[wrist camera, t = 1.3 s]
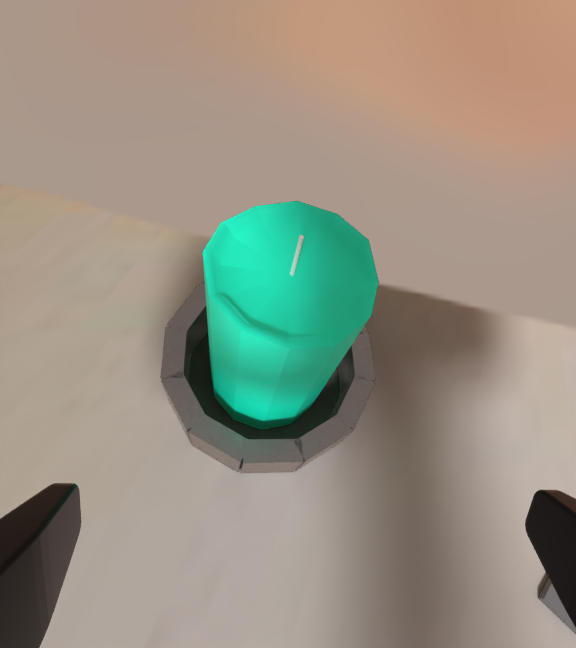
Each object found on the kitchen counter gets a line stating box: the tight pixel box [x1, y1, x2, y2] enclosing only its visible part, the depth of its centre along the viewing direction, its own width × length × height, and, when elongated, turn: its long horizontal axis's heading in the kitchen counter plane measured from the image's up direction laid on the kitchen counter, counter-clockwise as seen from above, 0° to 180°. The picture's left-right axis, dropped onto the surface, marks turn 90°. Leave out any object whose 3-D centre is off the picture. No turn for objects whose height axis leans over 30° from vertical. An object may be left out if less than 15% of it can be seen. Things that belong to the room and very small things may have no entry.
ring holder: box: [160, 282, 375, 473], centre depth 22 cm, size 10×10×3 cm
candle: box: [203, 201, 379, 430], centre depth 18 cm, size 6×6×12 cm
